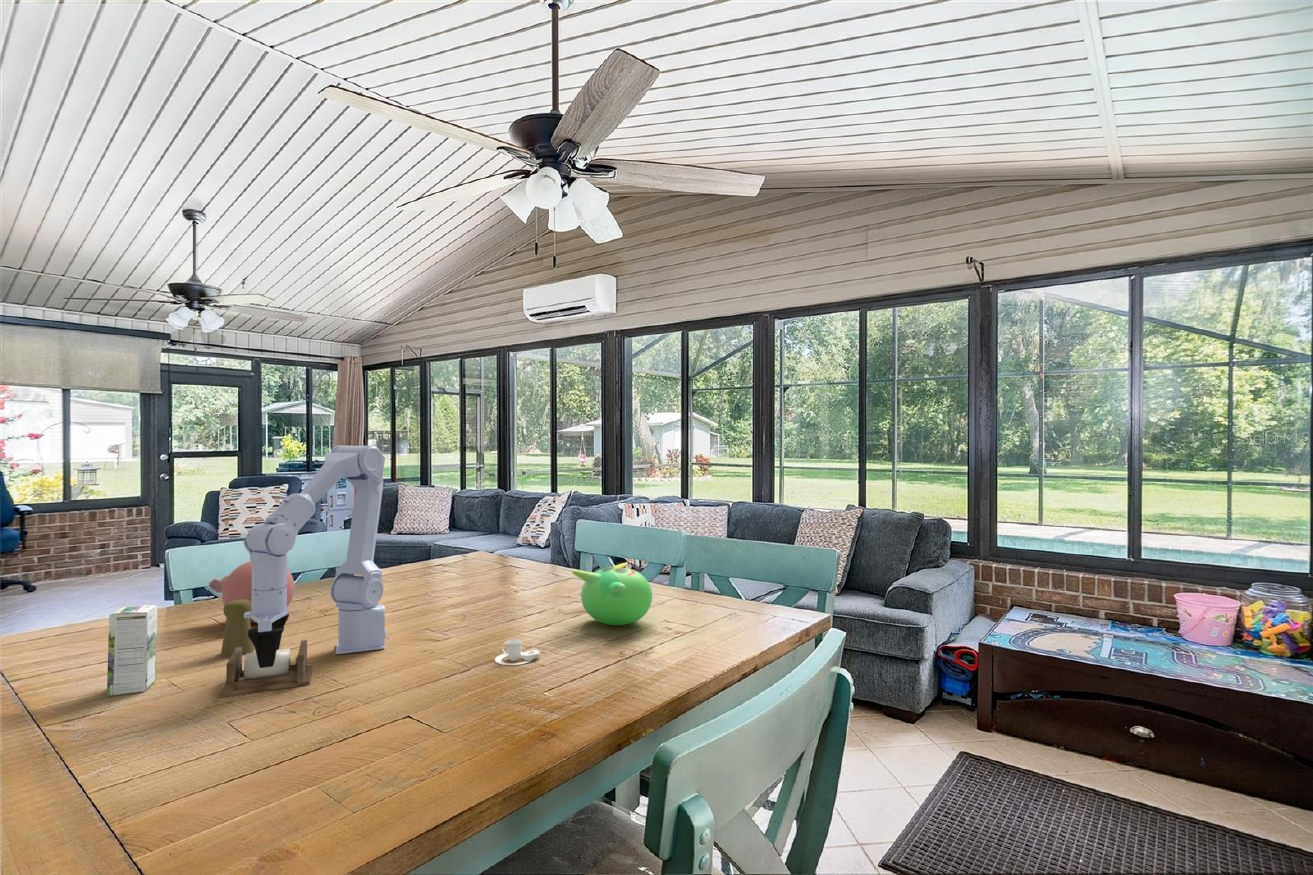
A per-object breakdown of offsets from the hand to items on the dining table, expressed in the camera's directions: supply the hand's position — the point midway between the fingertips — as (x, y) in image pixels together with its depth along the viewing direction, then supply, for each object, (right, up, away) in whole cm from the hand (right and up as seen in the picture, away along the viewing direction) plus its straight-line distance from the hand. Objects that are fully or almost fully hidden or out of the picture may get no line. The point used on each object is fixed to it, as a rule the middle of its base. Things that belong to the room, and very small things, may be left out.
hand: (269, 660), depth 122 cm
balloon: (-28, -4, +40) cm, 49 cm away
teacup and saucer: (+45, -5, +10) cm, 46 cm away
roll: (0, -3, 0) cm, 3 cm away
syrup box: (-22, -4, -4) cm, 23 cm away
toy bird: (+62, -5, +39) cm, 74 cm away
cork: (-16, -4, +17) cm, 24 cm away
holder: (0, -4, 0) cm, 4 cm away
